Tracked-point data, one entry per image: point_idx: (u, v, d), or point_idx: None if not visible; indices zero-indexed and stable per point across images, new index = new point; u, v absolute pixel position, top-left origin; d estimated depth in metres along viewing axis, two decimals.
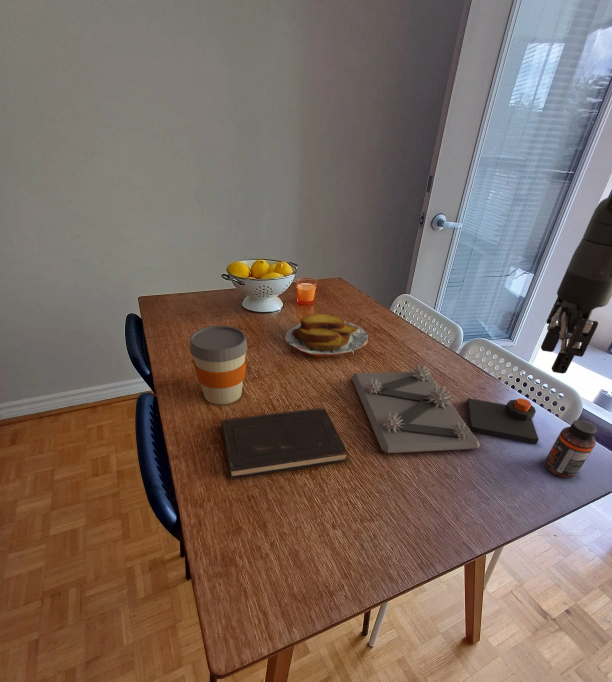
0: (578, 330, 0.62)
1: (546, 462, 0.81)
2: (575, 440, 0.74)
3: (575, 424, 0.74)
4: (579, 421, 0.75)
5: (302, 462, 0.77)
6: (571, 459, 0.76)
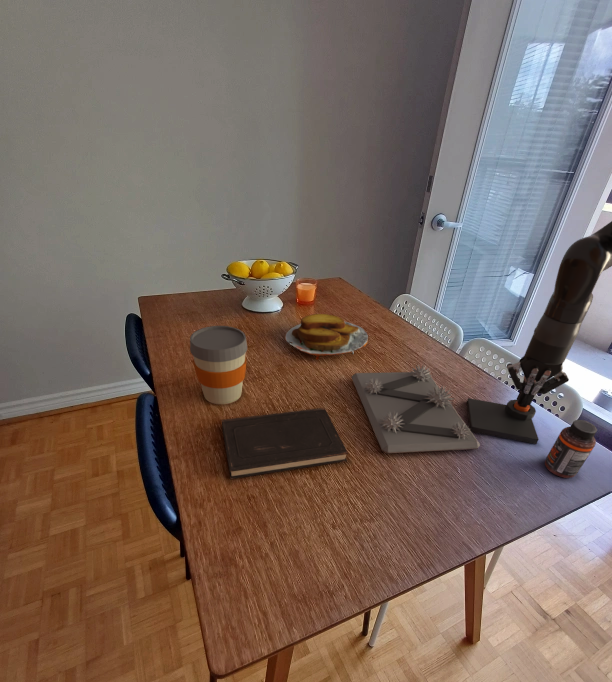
0: None
1: (546, 462, 0.81)
2: (575, 440, 0.74)
3: (575, 424, 0.74)
4: (579, 421, 0.75)
5: (302, 462, 0.77)
6: (571, 459, 0.76)
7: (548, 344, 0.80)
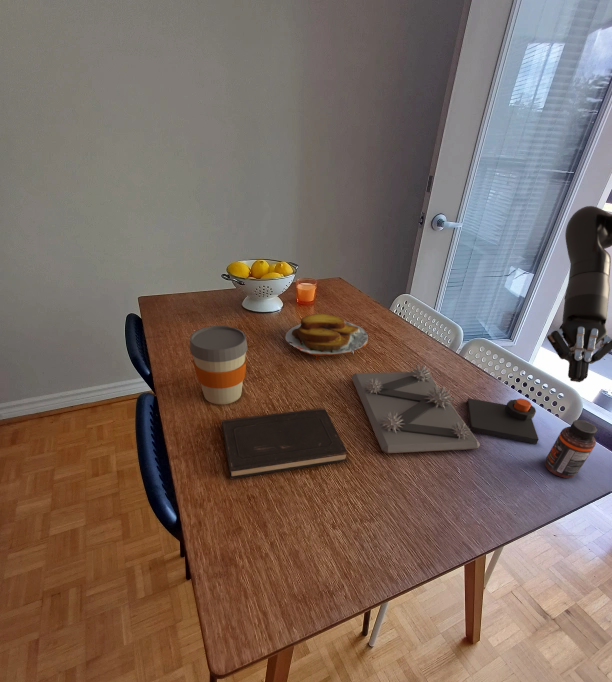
0: (550, 342, 0.83)
1: (546, 462, 0.81)
2: (575, 440, 0.74)
3: (575, 424, 0.74)
4: (579, 421, 0.75)
5: (302, 462, 0.77)
6: (571, 459, 0.76)
7: (587, 293, 0.79)
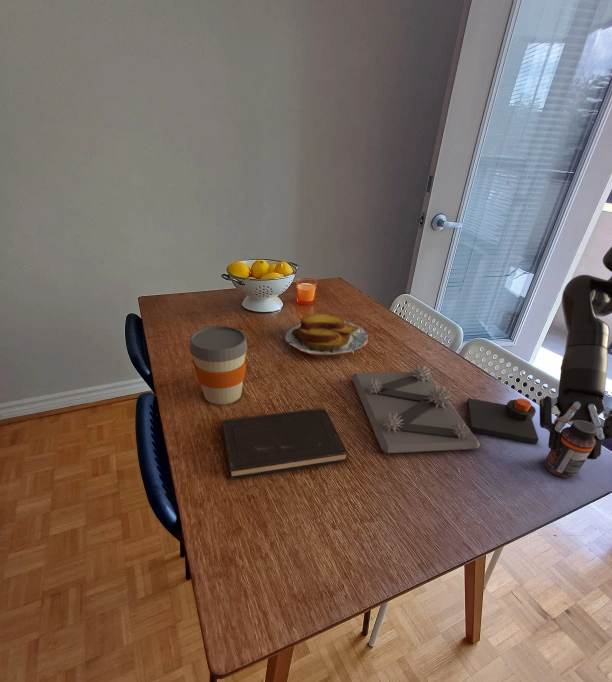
0: None
1: (546, 462, 0.81)
2: (575, 440, 0.74)
3: (575, 424, 0.74)
4: (579, 421, 0.75)
5: (302, 462, 0.77)
6: (571, 459, 0.76)
7: (583, 367, 0.76)
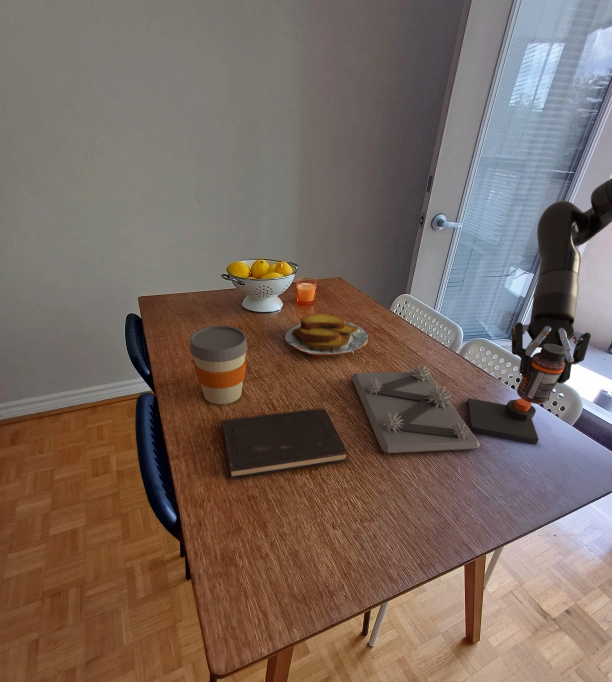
0: (512, 334, 0.81)
1: (518, 390, 0.82)
2: (544, 362, 0.75)
3: (545, 347, 0.75)
4: (549, 344, 0.76)
5: (302, 462, 0.77)
6: (541, 383, 0.77)
7: (554, 292, 0.77)
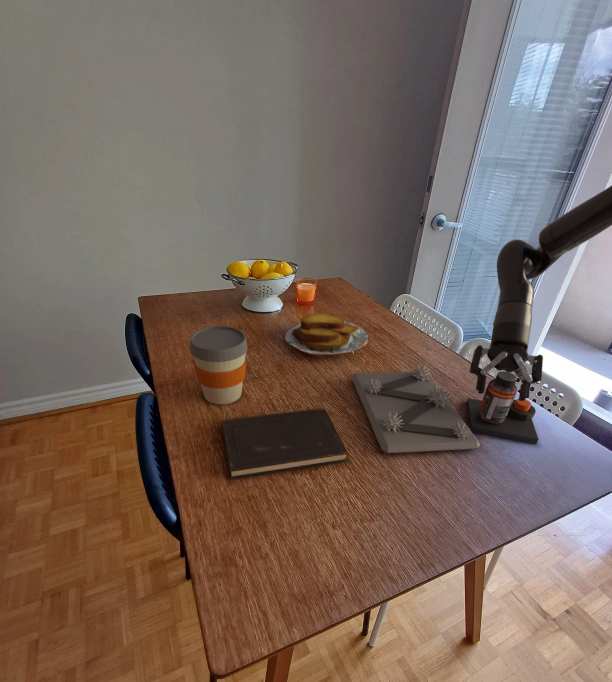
0: (473, 354, 0.90)
1: (478, 411, 0.92)
2: (498, 388, 0.85)
3: (499, 374, 0.85)
4: (503, 372, 0.86)
5: (302, 462, 0.77)
6: (497, 406, 0.87)
7: (509, 321, 0.86)
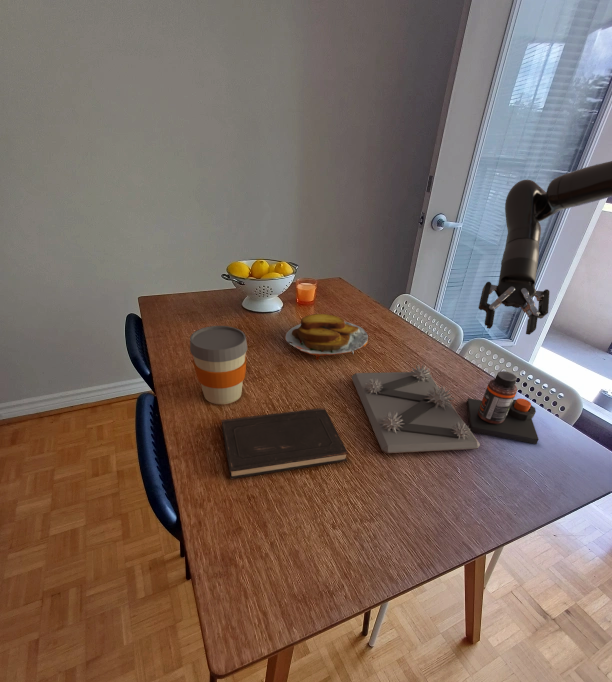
0: (482, 292, 0.93)
1: (478, 411, 0.92)
2: (498, 388, 0.85)
3: (499, 374, 0.85)
4: (503, 372, 0.86)
5: (302, 462, 0.77)
6: (497, 406, 0.87)
7: (517, 257, 0.89)
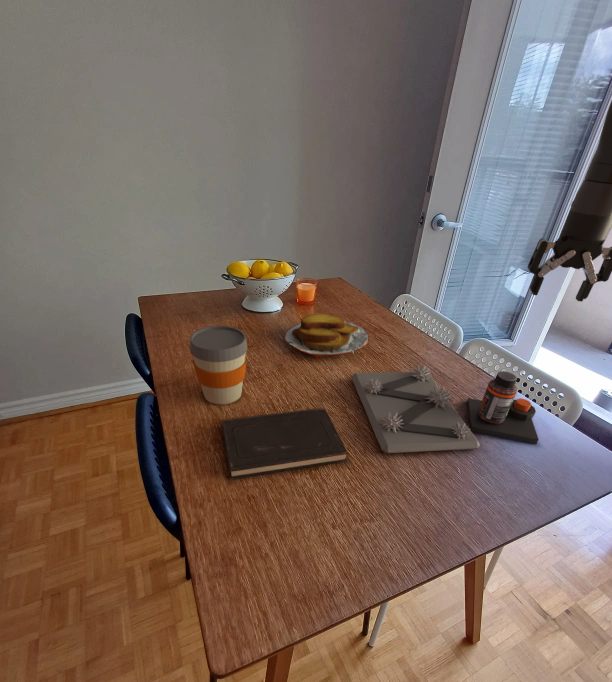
0: (536, 246, 0.78)
1: (478, 411, 0.92)
2: (498, 388, 0.85)
3: (499, 374, 0.85)
4: (503, 372, 0.86)
5: (302, 462, 0.77)
6: (497, 406, 0.87)
7: (589, 214, 0.70)
